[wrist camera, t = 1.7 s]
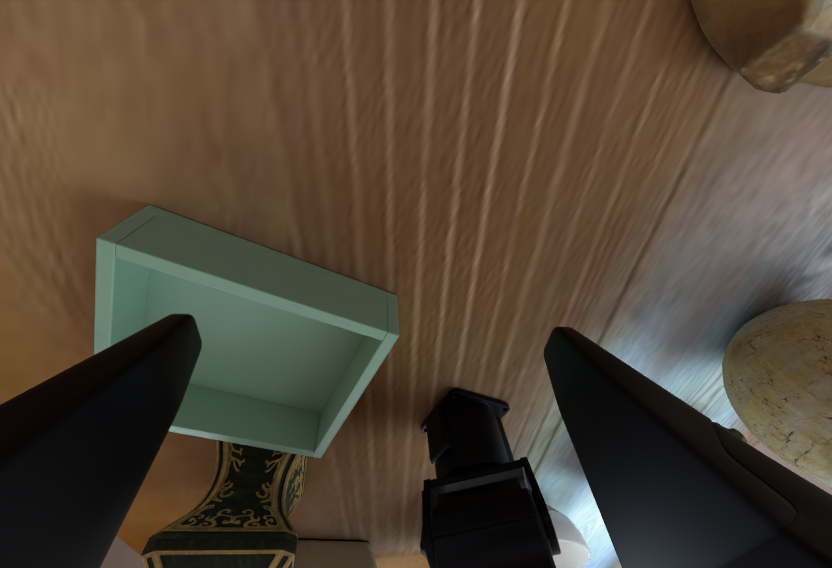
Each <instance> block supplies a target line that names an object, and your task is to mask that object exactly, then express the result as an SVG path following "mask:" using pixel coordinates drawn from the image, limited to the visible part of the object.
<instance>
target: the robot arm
mask: <svg viewBox="0 0 832 568" xmlns="http://www.w3.org/2000/svg"><path fill="white" fill-rule="evenodd" d="M201 348H202V340H201V336H200V333H199V330H198V327H197V324H196V321H195V318H194V317H193V316H192V315H190V314H170V315H168V316H166V317H164V318H162V319H161V320H159V321H157V322H155V323H153V324H151V325H149V326H147V327H146V328H144V329H142V330H140V331H138V332H136V333H134V334H132V335H131V336H129V337H127V338H125V339H123V340H121V341H119V342H117V343H116V344H114V345H112V346H110V347H108V348H106V349H104V350H103V351H101V352H99V353H97V354H95V355H93V356H91V357H89V358H88V359H86V360H84V361H82V362H80V363H78V364H76V365H74V366H73V367H71V368H69V369H67V370H65V371H63V372H61V373H59V374H58V375H56V376H54V377H52V378H50V379H48V380H46V381H44V382H43V383H41V384H39V385H37V386H35V387H33V388H31V389H29V390H27V391H26V392H24V393H22V394H20V395H18V396H16V397H14V398H12V399H11V400H9V401H7V402H5V403H3V404H1V405H0V568H100V566H101V564H102V562H103V560H104V558H105V556H106V554H107V552H108V550H109V548H110V546H111V544H112V542H113V540H114V538H115V536H116V534H117V532H118V530H119V528H120V526H121V524H122V522H123V520H124V519H125V517H126V515H127V513H128V511H129V509H130V507H131V505H132V503H133V501H134V499H135V497H136V495H137V493H138V491H139V489H140V487H141V485H142V483H143V481H144V479H145V477H146V475H147V473H148V471H149V469H150V467H151V465H152V463H153V461H154V459H155V457H156V455H157V453H158V451H159V449H160V447H161V445H162V443H163V441H164V439H165V437H166V435H167V433H168V431H169V429H170V427H171V425H172V423H173V421H174V419H175V417H176V414H177V412H178V410H179V408H180V405H181V403H182V400H183V398H184V395H185V392H186V390H187V387H188V384H189V381H190V379H191V376H192V373H193V371H194V368H195V365H196V362H197V360H198V357H199V354H200V351H201ZM544 359H545V362H546V366H547V369H548V373H549V376H550V380H551V383H552V387H553V390H554V394H555V397H556V401H557V404H558V407H559V410H560V413H561V415H562V418H563V421H564V423H565V426H566V428H567V431H568V433H569V436H570V438H571V441H572V443H573V446H574V448H575V451H576V453H577V456H578V458H579V461H580V463H581V466H582V468H583V471H584V473H585V476H586V478H587V481H588V483H589V486H590V488H591V491H592V493H593V496H594V498H595V501H596V503H597V506H598V508H599V511H600V513H601V516H602V518H603V521H604V523H605V526H606V528H607V531H608V533H609V536H610V538H611V541H612V543H613V546H614V548H615V551H616V553H617V556H618V558H619V561H620V563H621V566H622V568H832V495H830V494H829V493H827V492H825V491H824V490H822V489H820V488H819V487H817V486H815V485H814V484H812V483H810V482H809V481H807V480H805V479H804V478H802V477H800V476H799V475H797V474H796V473H794V472H792V471H790V470H789V469H787V468H786V467H784V466H782V465H781V464H779V463H777V462H776V461H774V460H773V459H771V458H769V457H768V456H766V455H764V454H763V453H761V452H760V451H758V450H757V449H755V448H754V447H752V446H750V445H749V444H747V443H746V442H744V441H743V440H741V439H740V438H738V437H736V436H735V435H733V434H732V433H730V432H729V431H727V430H726V429H724V428H723V427H721V426H720V425H718V424H717V423H715V422H712V421H711V420H710V419H709V418H708V417H706V416H705V415H703V414H702V413H700V412H698V411H697V410H695V409H694V408H692V407H691V406H689V405H688V404H686V403H685V402H683V401H682V400H680V399H679V398H677V397H676V396H674V395H673V394H671V393H670V392H668V391H667V390H665V389H664V388H662V387H661V386H659V385H658V384H656V383H655V382H653V381H652V380H650V379H648V378H647V377H645V376H644V375H642V374H641V373H639V372H638V371H636V370H635V369H633V368H632V367H630V366H629V365H627V364H626V363H624V362H623V361H621V360H620V359H618V358H617V357H615V356H614V355H612V354H611V353H609V352H608V351H606V350H605V349H603V348H602V347H600V346H599V345H597V344H596V343H594V342H593V341H591V340H589V339H588V338H586V337H585V336H583V335H582V334H580V333H579V332H577V331H576V330H574V329H573V328H571V327H555V328H554V329H553V331H552V333H551V335H550V337H549V339H548V342H547V344H546V346H545V348H544ZM509 410H510V407H509V405H508V403H505V402H501V401H498V400H494V399H491V398H487V397H484V396H480V395H477V394H473V393H470V392H466V391H463V390H459V389H453V390H451V391H450V392H449V393H448V394H447V395H446V397H445V398H444V399H443V400H442V401H441V403H440V404H439V405H438V406H437V407H436V409H435V410H434V411H433V412H432V413H431V415H430V416H429V417H428V418H427V419H426V421H425V422H424V423H423V424H422V425H421V431H422V432H423V433H427V437H428V445H429V454H430V461H431V463H432V464H435V469H436V476H437V479H433V480H430V479H427V480H424V490H423V491H422V519H423V524H422V533H421V542H420V549H421V553H422V554H423V555H424V556H425V557H426V558H427V560H428V563H429V566H430V568H556V566H555V563H554V559H553V556H554V555H559V554H561V550H560V546H559V542H558V539H557V536H556V532H555V529H554V526H553V523H552V520H551V517H550V514H549V512H548V509H547V506H546V504H545V501H544V499H543V496H542V494H541V491H540V489H539V486H538V484H537V481H536V479H535V476H534V474H533V471H532V469H531V466H530V464H529V462H528V459H527V457H523V458H520V460H516V461H514V458H513V455H512V452H511V449H510V446H509V443H508V440H507V437H506V434H505V431H504V428H503V425H502V422H501V418H502V417H503V416H504V415H505V414H506V413H507V412H508V411H509Z"/></svg>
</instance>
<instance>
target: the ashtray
mask: <svg viewBox="0 0 832 568" xmlns="http://www.w3.org/2000/svg"><path fill="white" fill-rule="evenodd" d="M690 1H691V3H692V6H693V9H694V12H695V14H696V17H697V20H698V22H699V25H700V28H701V29H702V31H703V33H704V35H705V36H706V38H707V40H708V41H709V43H710V44H711V46H712V47H713V48H714V50H715V51H716V52H717V53H718V54H719V55H720V57H721V58H722V59H723V60H724V61H725V62H726V63H727V64H728V65H729V66H730V67H731V68H732V69H733V70H735V71H736V72H738V73H739V74H740V75H741V76H742V77H743V78H744V79H745V80H746V81H747V82H749V83H750V84H751V85H752V86H753V87H754V88H755V89H758V90H762V91H765V92H769V93H778V94H780V93H783V92H785V91H786V90H788V89H789V88H790V87H791V86H793V85H794V84H796V83H798V82H804V83H811V84H815V85H819V86H824V87H831V88H832V0H690Z"/></svg>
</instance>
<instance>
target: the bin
mask: <svg viewBox="0 0 832 568" xmlns="http://www.w3.org/2000/svg"><path fill="white" fill-rule="evenodd" d="M170 314H190V315H192V316H193V317H194V318H195V321H196V324H197V327H198V330H199V333H200V336H201V340H202V348H201V351H200V354H199V357H198V360H197V362H196V365H195V368H194V371H193V373H192V376H191V379H190V381H189V384H188V387H187V390H186V392H185V395H184V398H183V400H182V403H181V405H180V408H179V410H178V412H177V414H176V417H175V419H174V421H173V423H172V425H171V427H170V429H169V431H170V432H175V433H181V434H187V435H192V436H198V437H203V438H209V439H215V440H220V441H226V442H231V443H237V444H243V445H248V446H254V447H259V448H265V449H270V450H276V451H282V452H287V453H293V454H298V455H304V456H310V457H311V456H312V457H316V458H321V457H322V456H323V454H324V453H325V451H326V449H327V448H328V446H329V445H330V443H331V442H332V440H333V438H334V437H335V435H336V434H337V432H338V431H339V429H340V428H341V426H342V424H343V423H344V421H345V420H346V418H347V417H348V415H349V413H350V412H351V410H352V409H353V407H354V406H355V404H356V403H357V401H358V399H359V398H360V396H361V395H362V393H363V392H364V390H365V389H366V387H367V385H368V384H369V382H370V381H371V379H372V378H373V376H374V374H375V373H376V371H377V370H378V368H379V367H380V365H381V364H382V362H383V360H384V359H385V357H386V356H387V354H388V353H389V351H390V349H391V348H392V346H393V345H394V343H395V342H396V340H397V339H398V337H399V326H398V310H397V296H396V295H395V294H392V293H389V292H386V291H384V290H381V289H378V288H376V287H373V286H370V285H367V284H365V283H362V282H359V281H356V280H354V279H351V278H348V277H346V276H343V275H340V274H337V273H335V272H332V271H329V270H327V269H324V268H321V267H318V266H316V265H313V264H310V263H307V262H305V261H302V260H299V259H297V258H294V257H291V256H288V255H286V254H283V253H280V252H277V251H275V250H272V249H269V248H267V247H264V246H261V245H258V244H256V243H253V242H250V241H247V240H245V239H242V238H239V237H237V236H234V235H231V234H228V233H226V232H223V231H220V230H218V229H215V228H212V227H209V226H207V225H204V224H201V223H198V222H196V221H193V220H190V219H188V218H185V217H182V216H179V215H177V214H174V213H171V212H168V211H166V210H163V209H160V208H158V207H155V206H152V205H147V206H146V207H144V208H143V209H141V210H140V211H138V212H136V213H135V214H133V215H132V216H130V217H128V218H127V219H125V220H124V221H122V222H120V223H119V224H117V225H116V226H114V227H113V228H111V229H109V230H108V231H106V232H105V233H103V234H101V235H100V236H98V237H97V238H96V276H95V324H94V355H95V354H97V353H99V352H101V351H103V350H104V349H106V348H108V347H110V346H112V345H114V344H116V343H117V342H119V341H121V340H123V339H125V338H127V337H129V336H131V335H132V334H134V333H136V332H138V331H140V330H142V329H144V328H146V327H147V326H149V325H151V324H153V323H155V322H157V321H159V320H161V319H162V318H164V317H166V316H168V315H170Z"/></svg>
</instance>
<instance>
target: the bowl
mask: <svg viewBox="0 0 832 568" xmlns="http://www.w3.org/2000/svg"><path fill="white" fill-rule="evenodd" d="M546 506H547V509H548V512H549V514H550V517H551V520H552V523H553V526H554V529H555V532H556V536H557V539H558V542H559V546H560V550H561V554H559V555H554V556H553V559H554V563H555V566H556V568H583V567H584V566H585V565H586V564H587V562H588V561H589V560H590V555H591V552H590V550H589V548H588V546H587V544H586V542H585V540H584V538H583V536H582V535H581V533H580V531H579V530H578V529H577V527H576V526H575V525H574V524H573V522H572V521H571V520H570V519H569V518H568V517H567V516H566V515H564V514H562V513H560V512H559V511H557V510H555V509H554V508H552V507H550V506H548V505H546Z"/></svg>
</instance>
